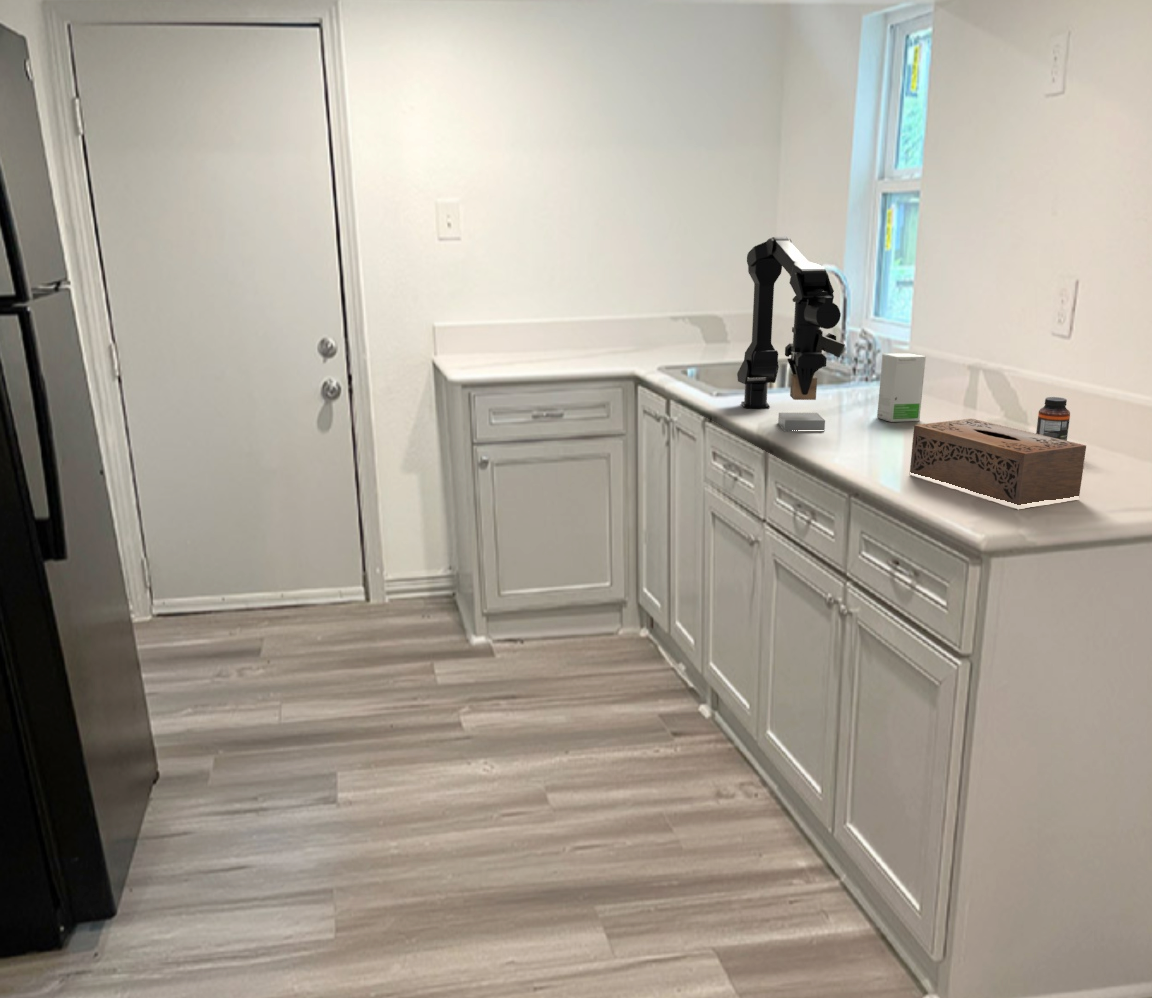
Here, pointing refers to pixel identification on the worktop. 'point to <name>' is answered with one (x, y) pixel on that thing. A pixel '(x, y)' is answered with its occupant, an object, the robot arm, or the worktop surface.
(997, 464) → the tissue box cover
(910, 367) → the skincare box
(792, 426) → the base
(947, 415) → the worktop surface
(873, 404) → the worktop surface
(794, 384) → the walnut cube
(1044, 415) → the supplement bottle
